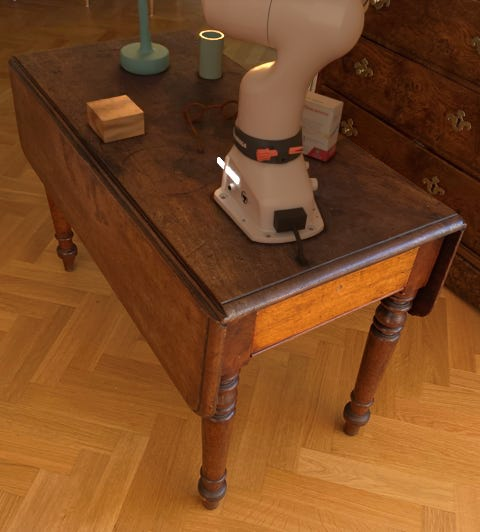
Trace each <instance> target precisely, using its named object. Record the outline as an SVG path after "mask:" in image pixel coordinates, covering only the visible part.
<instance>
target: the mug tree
mask: <svg viewBox="0 0 480 532" xmlns="http://www.w3.org/2000/svg"><path fill="white" fill-rule="evenodd" d="M137 12H138V24H139V25H138V27H139V41H138V42H132V43H128V44H126V45H124V46H123V47H122V48H121V49H120V51H119V62H120V66H121V67H122V68H123V69H124V70H125V71H126V72H128V73H130V74H135V75H139V76H140V75H142V76H150V75H151V76H152V75H153V76H154V75H157V74H161V73H163V72H165V71H167V69H168V68H169V66H170V62H171V61H170V52H169V50H168V48H167V47H166V46H165V45H162V44H160V43H155V42H152V37H151V32H150V22H149V21H150V18H149V5H148V0H137Z"/></svg>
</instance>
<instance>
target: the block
mask: <svg viewBox="0 0 480 532" xmlns="http://www.w3.org/2000/svg"><path fill="white" fill-rule="evenodd" d="M85 105H86V112H87V121H88V122H87V123H88V125H89V127H91V129H92V130H93V131H94V132H95V134H96V135H97V136H98V137H99V138H100V140H102V142H103V143H104V144H107V143H112V142H115V141H119V140H125V139H128V138H133V137H137V136H141V135H145V114H144V113H145V112H144V111H143V110H142V109H141V108H140V107H139V106H138V105H136V103H135V102H134V101H133V100H131V98H130V97H129V96H128V95H127V94H124V95H119V96H113V97H109V98H104V99H99V100H93V101H87V102H86V104H85Z"/></svg>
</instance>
